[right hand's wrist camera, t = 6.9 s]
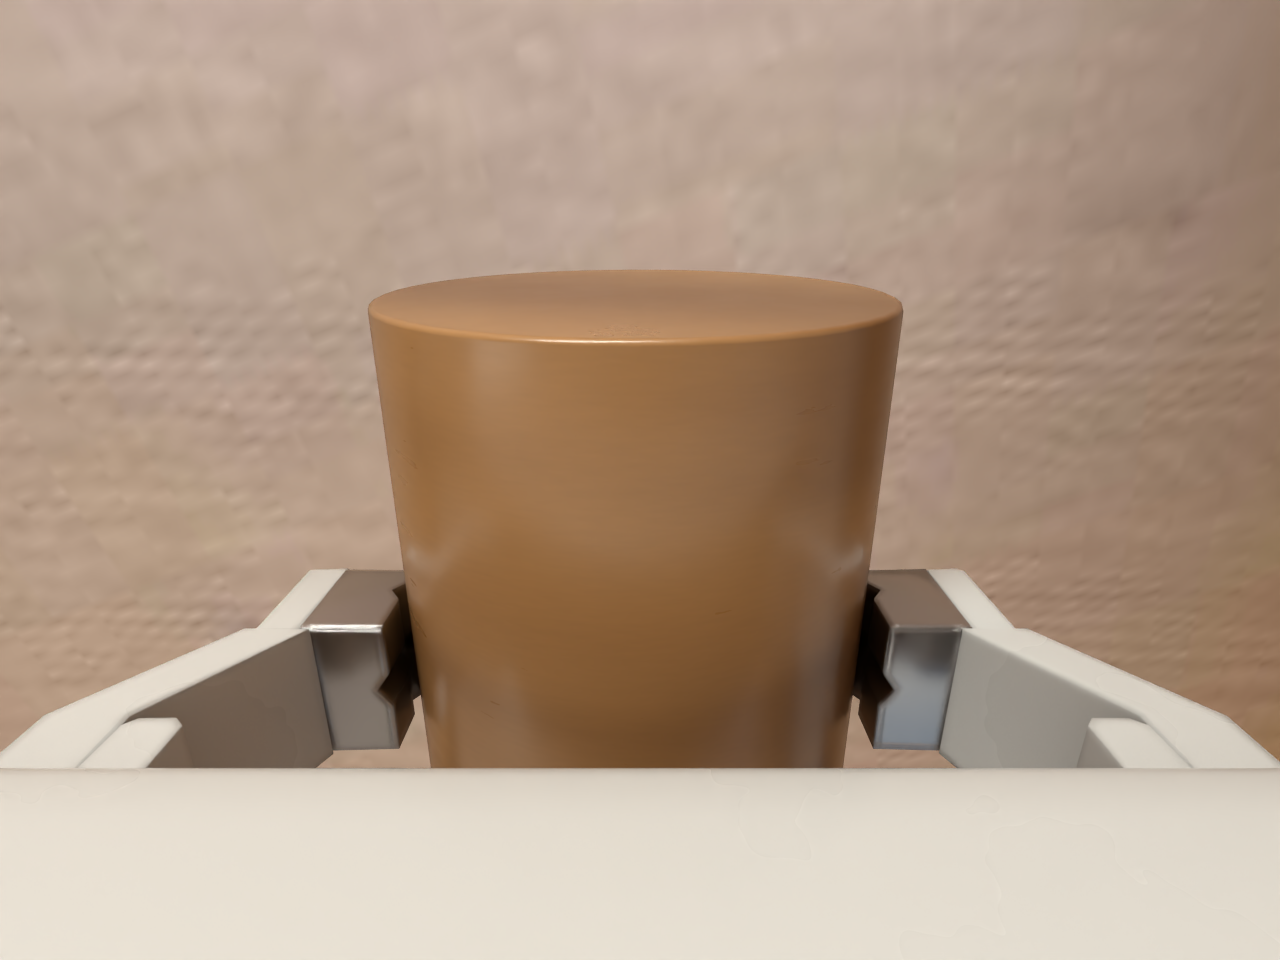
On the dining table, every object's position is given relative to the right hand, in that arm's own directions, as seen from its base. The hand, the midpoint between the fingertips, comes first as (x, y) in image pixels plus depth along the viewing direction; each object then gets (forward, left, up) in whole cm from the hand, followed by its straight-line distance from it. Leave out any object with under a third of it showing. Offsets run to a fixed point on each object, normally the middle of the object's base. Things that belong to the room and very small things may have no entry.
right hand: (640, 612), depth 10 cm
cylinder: (+3, +7, -3) cm, 8 cm away
